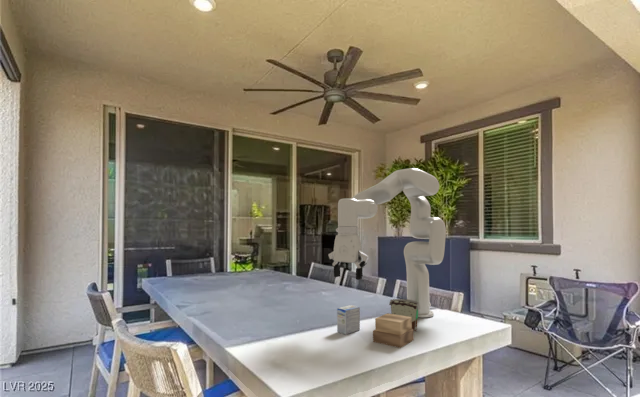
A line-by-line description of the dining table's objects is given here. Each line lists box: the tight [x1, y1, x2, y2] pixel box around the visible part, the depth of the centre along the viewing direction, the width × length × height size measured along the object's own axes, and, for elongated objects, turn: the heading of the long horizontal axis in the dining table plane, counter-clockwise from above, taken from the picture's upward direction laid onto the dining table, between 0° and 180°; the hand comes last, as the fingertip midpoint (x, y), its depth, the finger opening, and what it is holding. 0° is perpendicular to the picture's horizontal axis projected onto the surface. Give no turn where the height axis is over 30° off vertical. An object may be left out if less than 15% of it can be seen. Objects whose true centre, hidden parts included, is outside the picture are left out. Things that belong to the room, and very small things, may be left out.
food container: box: [388, 298, 420, 332], centre depth 137 cm, size 12×6×10 cm, turn 47°
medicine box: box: [336, 304, 361, 335], centre depth 132 cm, size 8×4×9 cm, turn 135°
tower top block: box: [374, 312, 412, 335], centre depth 121 cm, size 9×9×4 cm
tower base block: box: [372, 329, 415, 349], centre depth 121 cm, size 10×10×4 cm
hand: (347, 277), depth 133 cm, fingers open, 9 cm apart
